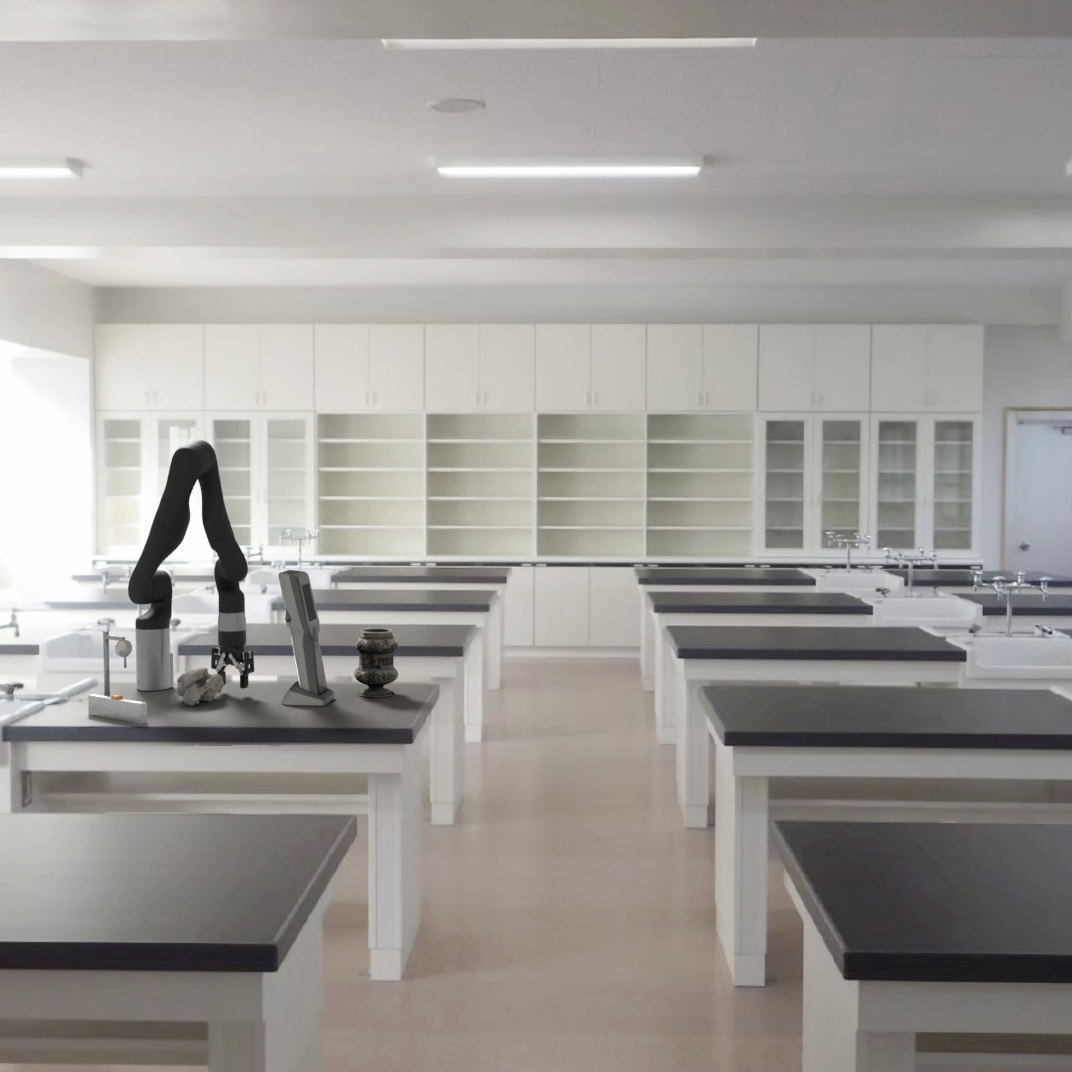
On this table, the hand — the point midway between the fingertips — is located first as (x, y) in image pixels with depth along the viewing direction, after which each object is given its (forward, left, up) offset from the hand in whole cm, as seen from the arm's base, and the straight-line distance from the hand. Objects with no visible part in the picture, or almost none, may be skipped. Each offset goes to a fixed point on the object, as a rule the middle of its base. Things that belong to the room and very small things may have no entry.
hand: (232, 686), depth 348 cm
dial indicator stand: (+28, -14, -2) cm, 32 cm away
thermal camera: (-4, +25, -2) cm, 25 cm away
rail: (+39, 0, -2) cm, 39 cm away
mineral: (+12, 0, -2) cm, 13 cm away
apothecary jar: (-22, +33, -2) cm, 40 cm away
